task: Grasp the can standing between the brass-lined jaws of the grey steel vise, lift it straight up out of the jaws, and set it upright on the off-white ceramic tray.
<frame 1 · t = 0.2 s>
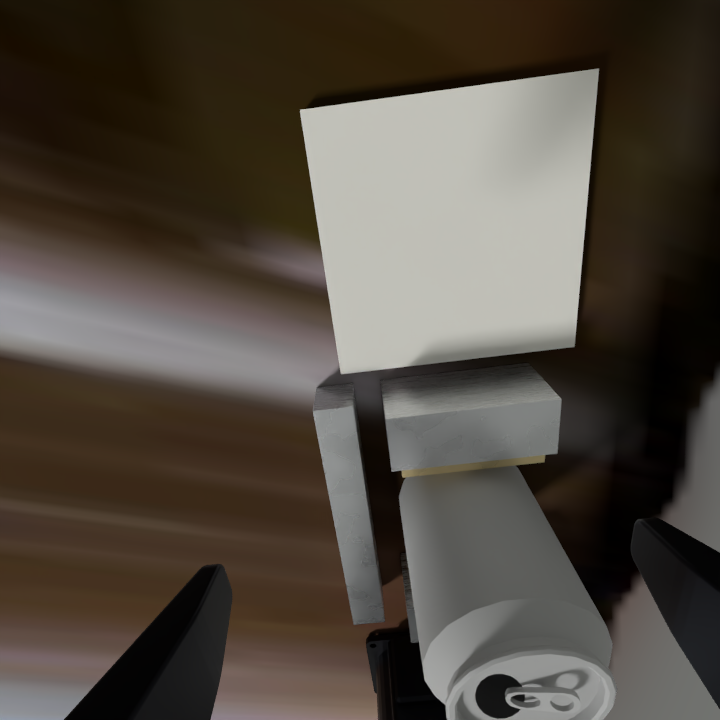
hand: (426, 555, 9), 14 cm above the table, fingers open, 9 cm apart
can: (457, 485, 27), on the table
tray: (449, 239, 20), on the table
vise: (458, 487, 26), on the table
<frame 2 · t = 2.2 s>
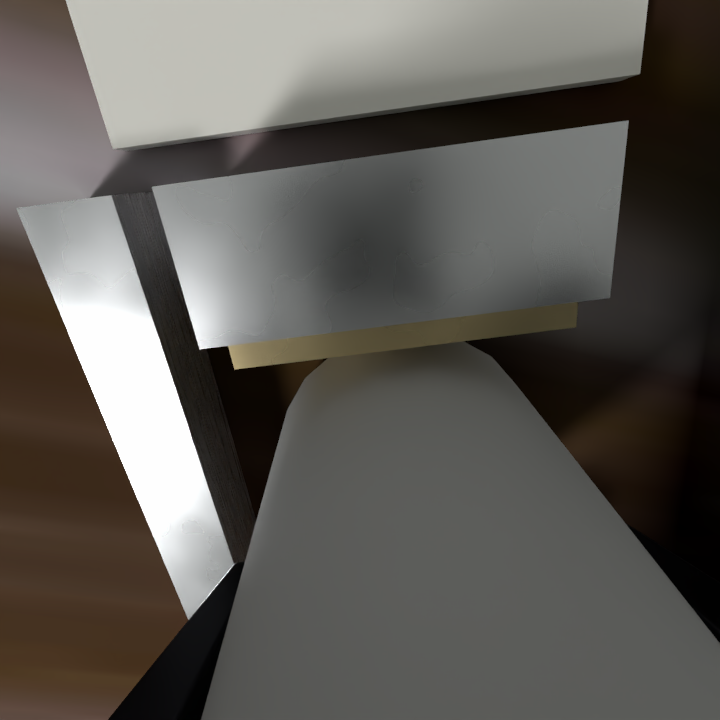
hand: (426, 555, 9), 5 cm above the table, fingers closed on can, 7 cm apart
can: (401, 426, 14), on the table, touching gripper
vise: (401, 430, 14), on the table
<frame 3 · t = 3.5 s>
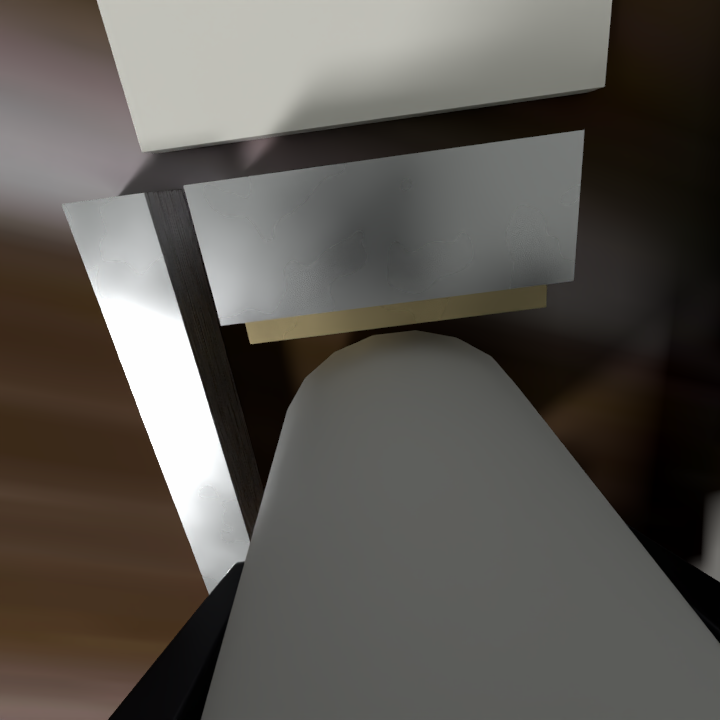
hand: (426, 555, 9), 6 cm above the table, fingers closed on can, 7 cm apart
can: (401, 426, 14), point 1 cm above the table, touching gripper
vise: (397, 407, 15), on the table
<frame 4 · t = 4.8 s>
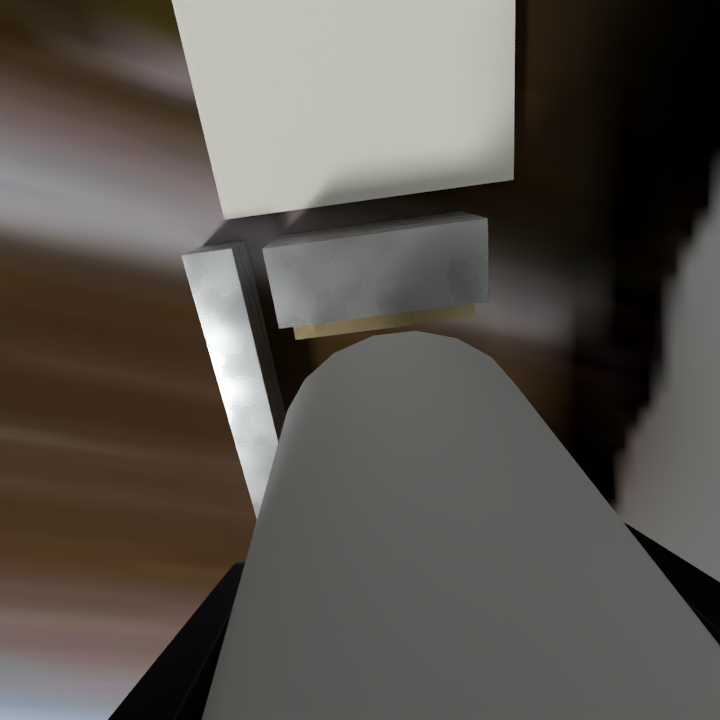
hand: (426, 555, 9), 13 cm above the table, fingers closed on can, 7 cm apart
can: (401, 427, 14), point 7 cm above the table, touching gripper
tray: (347, 29, 16), on the table
vise: (388, 386, 22), on the table
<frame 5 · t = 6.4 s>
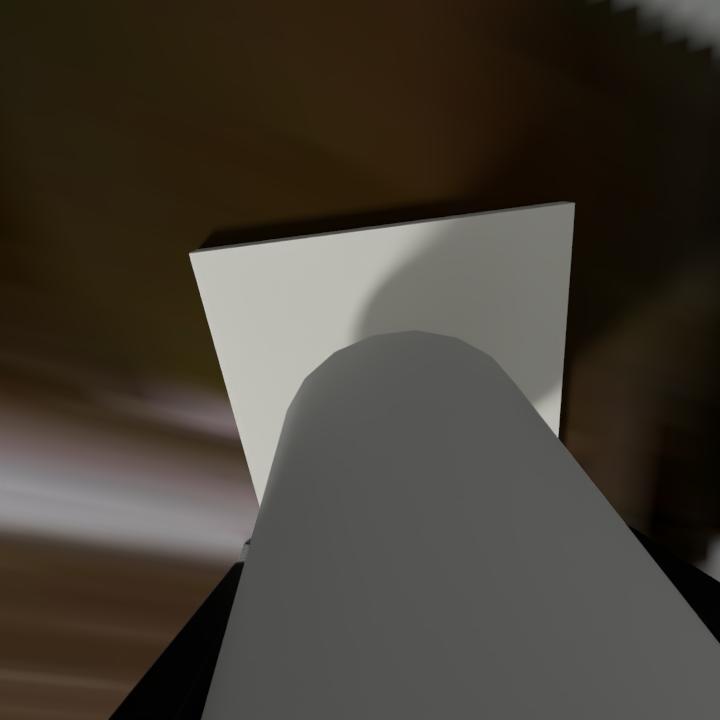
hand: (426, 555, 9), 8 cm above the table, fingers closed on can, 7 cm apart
can: (401, 426, 14), point 2 cm above the table, touching gripper
tray: (394, 388, 16), on the table
when the fingers open (7 cm above the table, at t = 7.5 s): can drops 1 cm, resting on tray.
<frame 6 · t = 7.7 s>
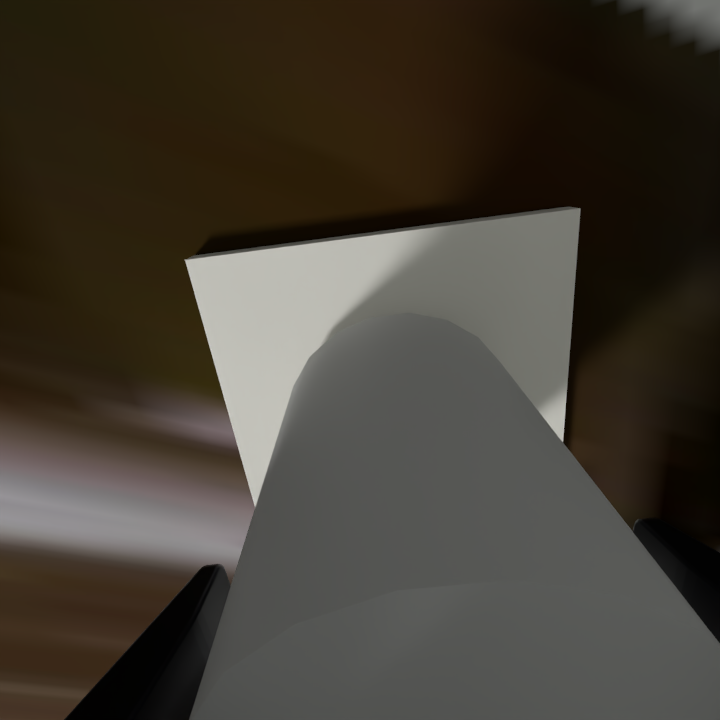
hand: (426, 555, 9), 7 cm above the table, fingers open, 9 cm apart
can: (397, 404, 15), point 1 cm above the table, touching tray
tray: (395, 396, 16), on the table
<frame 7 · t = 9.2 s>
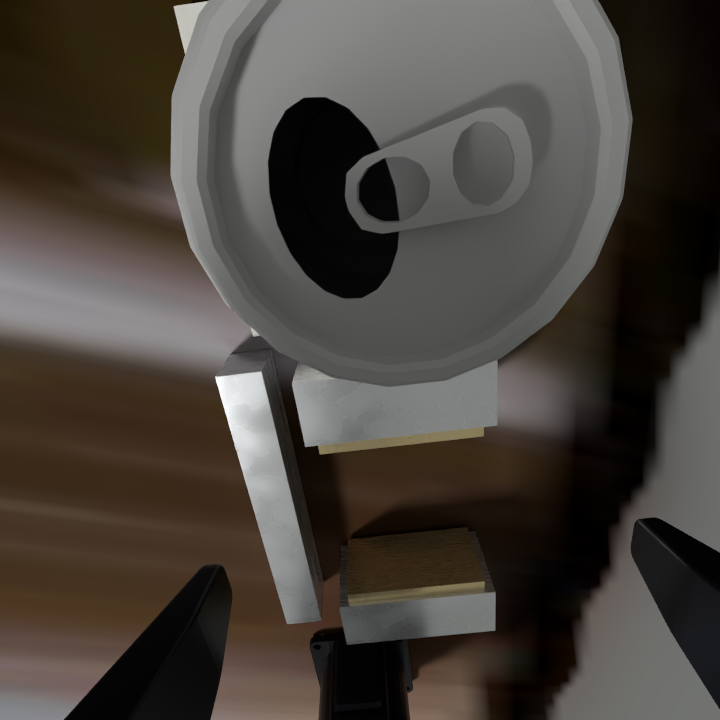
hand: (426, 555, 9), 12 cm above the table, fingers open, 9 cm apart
can: (370, 174, 17), point 1 cm above the table, touching tray
tray: (369, 174, 17), on the table
vise: (400, 470, 24), on the table
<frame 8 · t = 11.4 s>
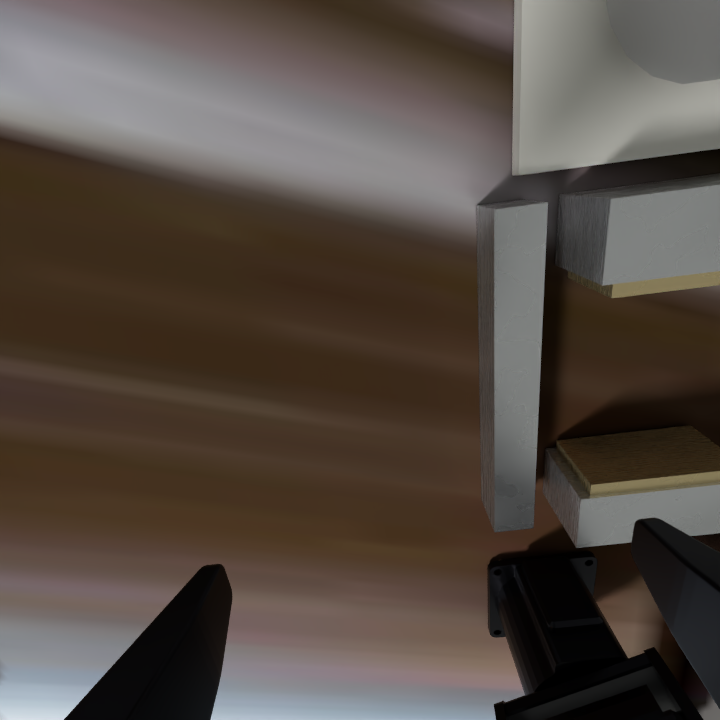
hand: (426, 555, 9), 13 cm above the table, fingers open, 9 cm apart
vise: (631, 355, 21), on the table
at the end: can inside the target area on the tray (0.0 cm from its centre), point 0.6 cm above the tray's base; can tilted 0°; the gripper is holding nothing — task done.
